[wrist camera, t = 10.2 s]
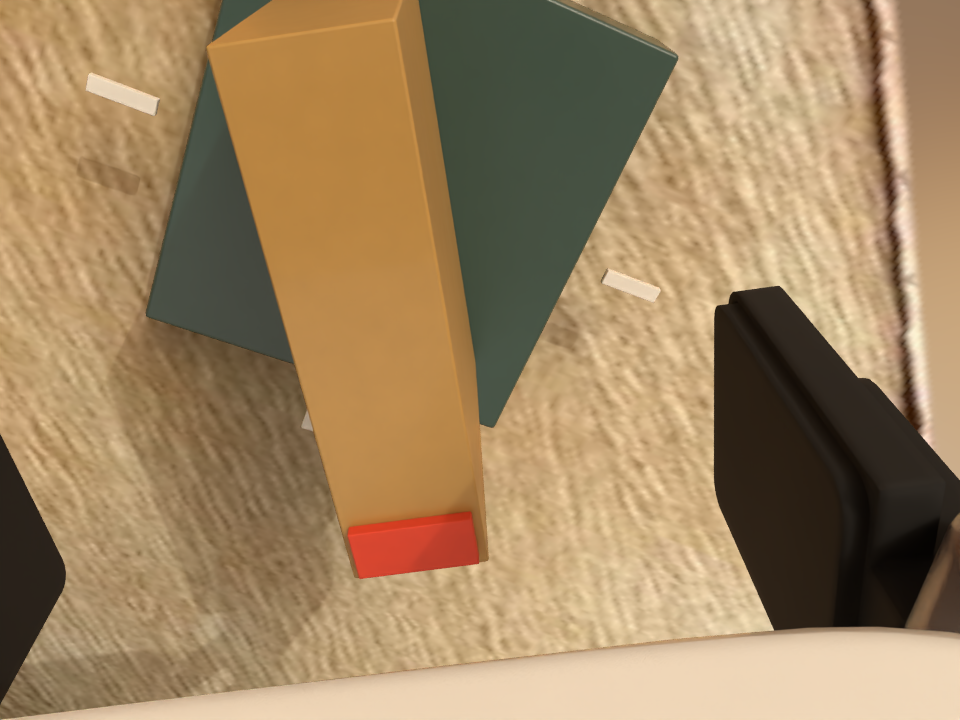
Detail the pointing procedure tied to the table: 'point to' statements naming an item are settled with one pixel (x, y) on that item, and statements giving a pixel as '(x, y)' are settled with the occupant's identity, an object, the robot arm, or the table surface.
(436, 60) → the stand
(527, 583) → the table surface
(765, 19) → the table surface
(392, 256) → the tan upright flat block
